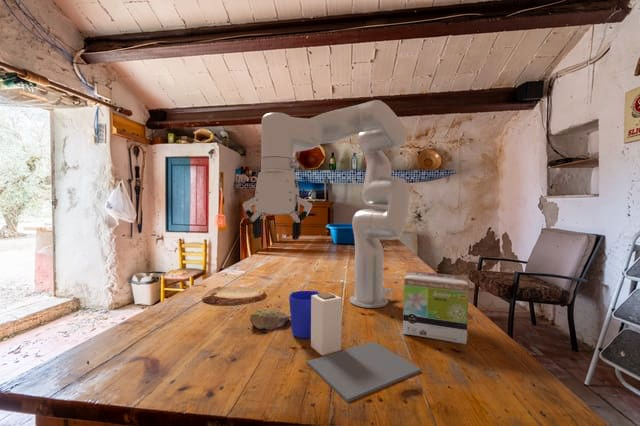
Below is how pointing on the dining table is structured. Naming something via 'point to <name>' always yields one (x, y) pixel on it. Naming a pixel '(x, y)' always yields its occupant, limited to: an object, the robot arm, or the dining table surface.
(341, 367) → the mat
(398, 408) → the dining table surface
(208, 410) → the dining table surface
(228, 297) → the wood slice
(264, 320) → the rock
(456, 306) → the tea box
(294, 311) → the mug
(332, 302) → the block
